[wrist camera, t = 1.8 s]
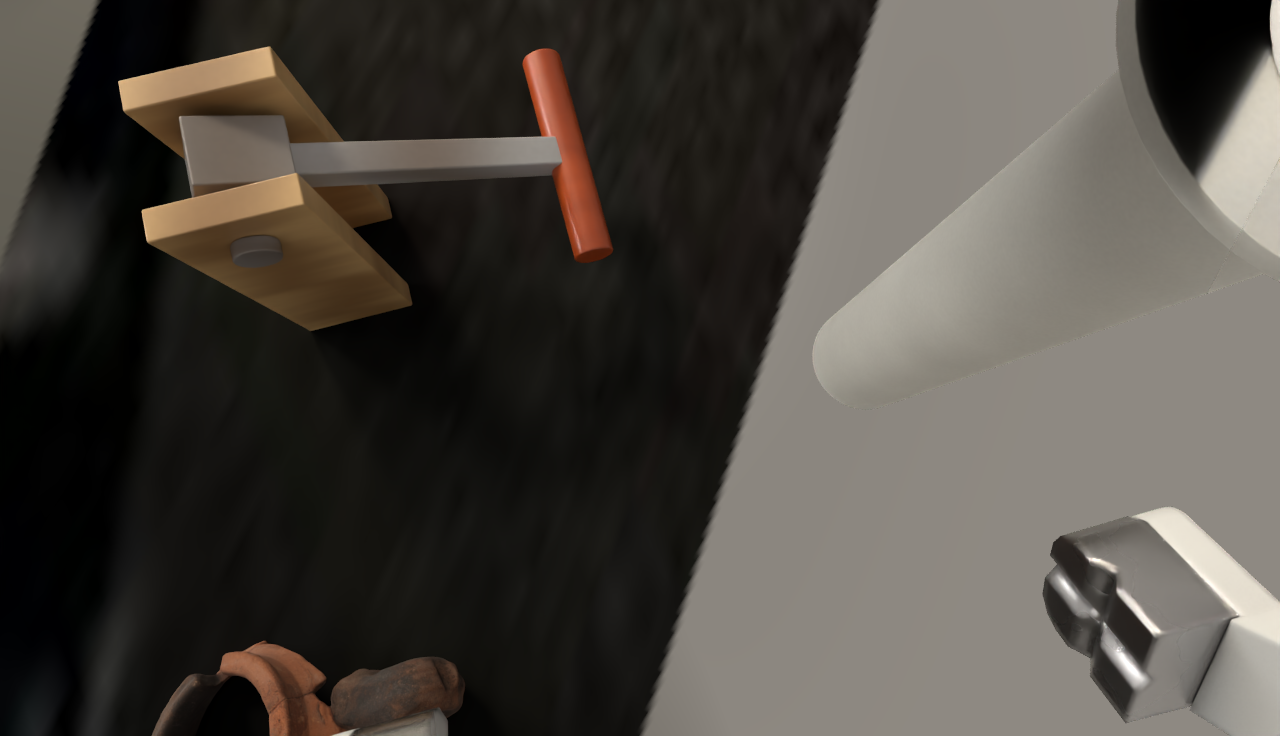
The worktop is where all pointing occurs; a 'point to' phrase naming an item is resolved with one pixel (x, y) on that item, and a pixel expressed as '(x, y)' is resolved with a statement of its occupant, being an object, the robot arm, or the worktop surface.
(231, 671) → the pottery mug
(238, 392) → the worktop surface
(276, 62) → the bracket
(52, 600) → the worktop surface
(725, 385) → the worktop surface
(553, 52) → the lever
